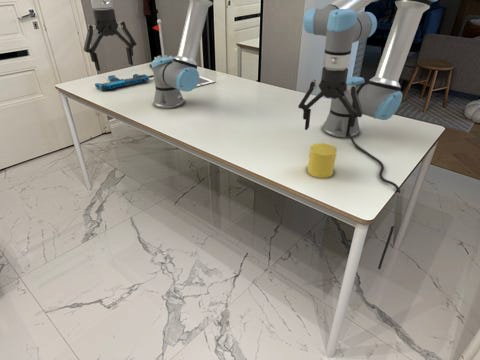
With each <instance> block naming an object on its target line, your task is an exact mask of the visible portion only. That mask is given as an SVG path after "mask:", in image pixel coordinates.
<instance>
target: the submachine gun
mask: <svg viewBox="0 0 480 360" xmlns="http://www.w3.org/2000/svg"><path fill="white" fill-rule="evenodd" d="M107 77H108V80H109V82H103V83H100V82H96V83H94V86H95V88H97V89H98V90H100V91H107V90H113V91H114V90H115V89H116V88H120V87H125V86H129V85H134V84H138V83H139V84H140V83H145V82H146V83H147V81H148V80H150V79H151V78H154V74H151V75H147V74H138V73H134V74H133V75H132V77H129V78H121V79H120V78H118V77H117V76H116V75H113V74H112V75H108V76H107Z"/></svg>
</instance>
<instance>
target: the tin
mask: <svg viewBox="0 0 480 360" xmlns="http://www.w3.org/2000/svg"><path fill="white" fill-rule="evenodd" d="M337 154H338V149H337V147H335V146H334V145H332V144H329V143H324V142H317V143H314V144H312V145H311V146H309V155H308V162H307V173H308V174H309V175H310V176H312V177H314V178H318V179H327V178H330V177H332V175H334V170H335V163H336V159H337Z"/></svg>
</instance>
